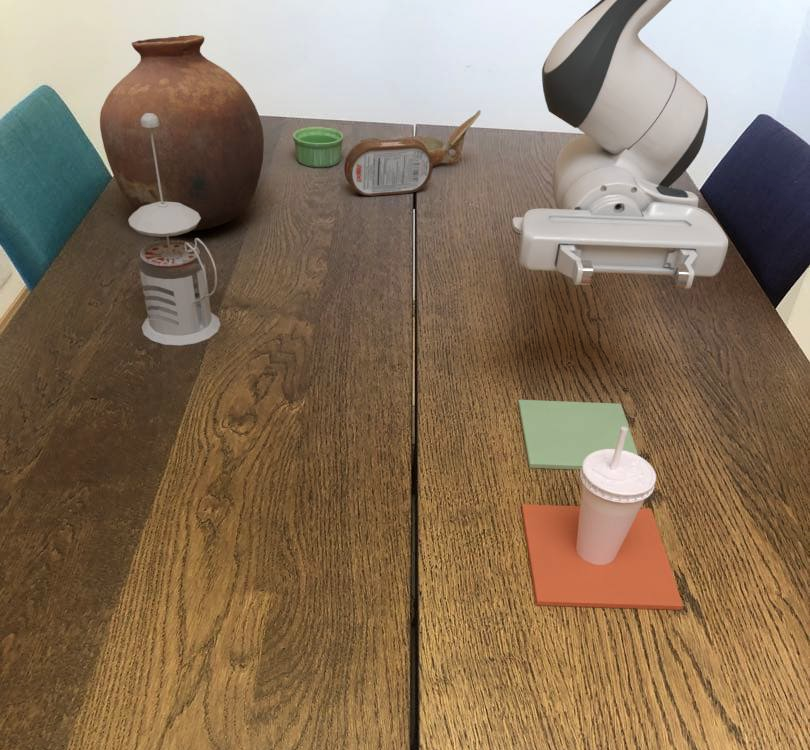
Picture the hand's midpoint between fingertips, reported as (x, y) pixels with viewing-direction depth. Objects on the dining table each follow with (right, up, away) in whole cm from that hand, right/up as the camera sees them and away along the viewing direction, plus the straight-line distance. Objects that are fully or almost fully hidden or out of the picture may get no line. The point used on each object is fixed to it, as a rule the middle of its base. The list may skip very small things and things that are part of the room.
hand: (634, 279), depth 76 cm
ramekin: (-37, +45, +73) cm, 94 cm away
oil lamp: (-19, +45, +75) cm, 89 cm away
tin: (-24, +35, +64) cm, 76 cm away
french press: (-49, +3, +28) cm, 57 cm away
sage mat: (-2, -13, +15) cm, 20 cm away
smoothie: (-3, -25, +1) cm, 26 cm away
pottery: (-54, +26, +52) cm, 79 cm away
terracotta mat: (-3, -26, +1) cm, 26 cm away
